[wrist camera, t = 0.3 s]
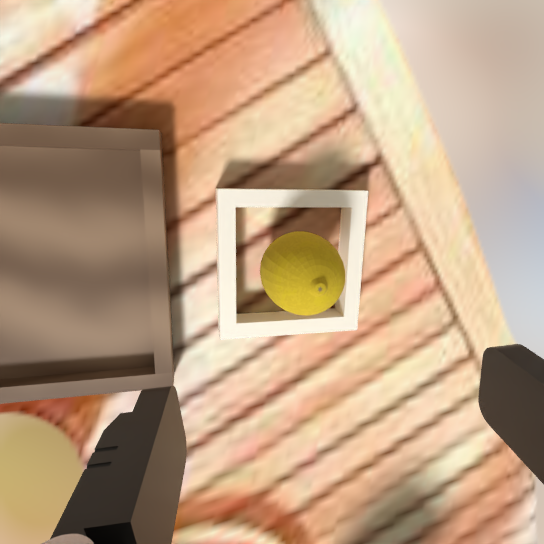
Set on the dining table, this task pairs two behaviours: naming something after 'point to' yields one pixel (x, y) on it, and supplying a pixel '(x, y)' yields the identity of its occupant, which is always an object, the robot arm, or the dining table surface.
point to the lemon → (302, 273)
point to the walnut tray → (82, 262)
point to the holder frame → (284, 321)
